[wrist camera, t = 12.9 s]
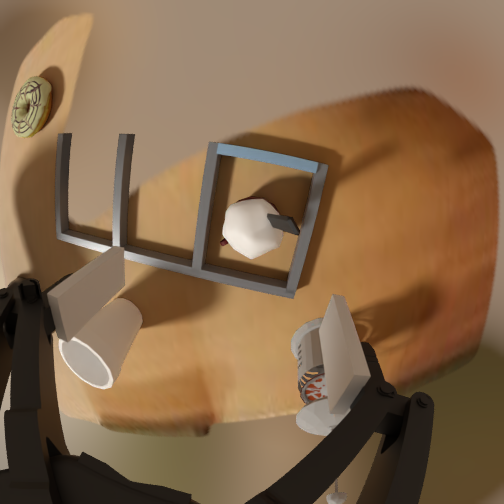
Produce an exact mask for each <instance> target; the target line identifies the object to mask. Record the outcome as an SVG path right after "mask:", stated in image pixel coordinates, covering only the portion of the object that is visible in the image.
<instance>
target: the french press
mask: <svg viewBox="0 0 504 504" xmlns="http://www.w3.org/2000/svg"><path fill="white" fill-rule="evenodd" d="M322 321H323V318H318V319H315V320H312V321H310V322H307V323H305V324H304V325H303V326H301V327H300V328H299V329H298V330H296V332H295V334H294V336H293V338H292V339H291V351H292V352H293V354H294V356H295V358H296V359H298V360H299V361H298V365H299V366H298V389H299V391H300V393H301V395H300V397H301V398H302V400H303V401H304V403H306V405H305V406H304V407H303V408H302V409H301V410H300V411H299V413H298V414H297V417H296V423H297V425H298V426H299V427H300V429H302V430H304V431H306V432H308V433H311V434H315V435H325V436H327V435H328V434H329V433H330V432H331V431H332V430H333V429H334V428H335V427H336V426H337V425H338V424H339V423H340V422H341V421H342V420H343V418H344V417H345V416H346V415H347V414H348V413H349V412H350V411H351V410H350V408H349V409H348V411H347V412H346V413H345V415H342V414H330V413H329V404H328V395H327V386H326V378H325V371H324V363H323V356H322V349H321V342H320V336H319V329H320V326H321V324H322ZM300 365H301V366H300ZM307 371H309V372H318V374H315V375H311V374H307V373H306V372H307ZM303 375H305V376H306V377H310V378H312V379H310V380H307V379H305V378H304V377H303ZM300 378H302V379H303V380H304V381H305V382H306V383H305V384H304V383H303V382H302V381H301V379H300ZM299 380H300V382H301V385H302V386H303V387H302V388H301V385H300V382H299ZM346 498H347V493H344V492H340V493H338V485H337V479H336V480H335V493H333V494H329V495H328V496H327V502H328V503H329V504H341V503H343V502H344V501H345V500H346Z"/></svg>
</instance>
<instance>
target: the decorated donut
mask: <svg viewBox="0 0 504 504" xmlns="http://www.w3.org/2000/svg"><path fill="white" fill-rule="evenodd" d="M51 92H52V91H51V85H50V83H49V82H48V81H47V79H45V78H43V77H38V76H36V77H31V78H29V79H28V80H27V81H26V82H25V84H24V85H23V86H22V88H21V89H20V91H19V93H18V94H17V96H16V99H15V102H14V105H13V110H12V118H11V121H12V128H13V130H14V133H15V134H16V135H17V136H18V137H23V138H28V137H32V136H34V135H35V134H36V133H37V132H39V131H40V130H41V128H42V127H43V126H44V124H45V122H46V120H47V118H48V116H49V113H50V110H51V106H52V93H51Z"/></svg>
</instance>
